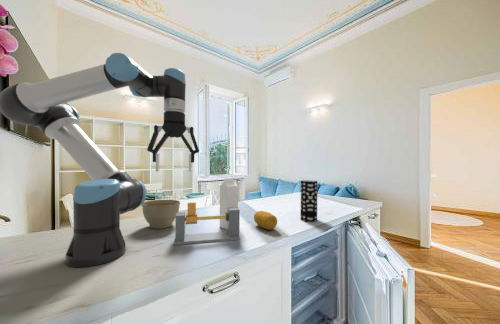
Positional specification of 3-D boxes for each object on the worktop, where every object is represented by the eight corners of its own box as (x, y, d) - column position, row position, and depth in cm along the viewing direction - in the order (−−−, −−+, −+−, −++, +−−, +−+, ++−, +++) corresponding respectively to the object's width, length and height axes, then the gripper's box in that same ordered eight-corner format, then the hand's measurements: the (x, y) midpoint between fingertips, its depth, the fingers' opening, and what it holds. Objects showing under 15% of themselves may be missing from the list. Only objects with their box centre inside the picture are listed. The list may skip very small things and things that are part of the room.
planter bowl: (171, 231, 89) (172, 206, 89) (134, 231, 90) (134, 205, 90) (184, 221, 105) (184, 199, 105) (152, 220, 106) (152, 199, 106)
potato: (264, 222, 104) (264, 208, 104) (281, 231, 91) (281, 215, 91) (251, 224, 101) (251, 209, 101) (266, 233, 88) (266, 216, 88)
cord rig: (173, 244, 75) (173, 213, 75) (175, 237, 83) (176, 209, 83) (240, 239, 81) (240, 210, 81) (236, 232, 88) (236, 206, 89)
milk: (237, 227, 97) (238, 178, 97) (227, 229, 92) (227, 179, 93) (229, 224, 101) (230, 177, 101) (219, 226, 97) (219, 178, 97)
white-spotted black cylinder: (306, 216, 115) (306, 180, 116) (320, 220, 109) (320, 181, 109) (297, 219, 110) (297, 180, 110) (310, 223, 104) (311, 182, 104)
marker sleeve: (185, 224, 78) (186, 203, 78) (186, 221, 81) (186, 202, 82) (197, 223, 79) (197, 203, 79) (197, 221, 82) (197, 201, 82)
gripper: (137, 107, 73) (136, 171, 73) (206, 112, 78) (206, 171, 78) (143, 112, 80) (142, 171, 80) (206, 116, 85) (205, 171, 85)
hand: (173, 171), depth 79 cm, fingers open, 11 cm apart
